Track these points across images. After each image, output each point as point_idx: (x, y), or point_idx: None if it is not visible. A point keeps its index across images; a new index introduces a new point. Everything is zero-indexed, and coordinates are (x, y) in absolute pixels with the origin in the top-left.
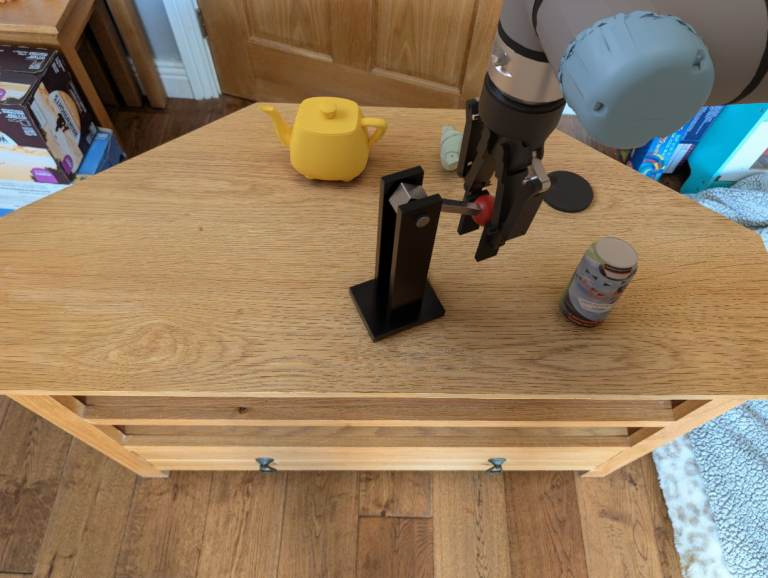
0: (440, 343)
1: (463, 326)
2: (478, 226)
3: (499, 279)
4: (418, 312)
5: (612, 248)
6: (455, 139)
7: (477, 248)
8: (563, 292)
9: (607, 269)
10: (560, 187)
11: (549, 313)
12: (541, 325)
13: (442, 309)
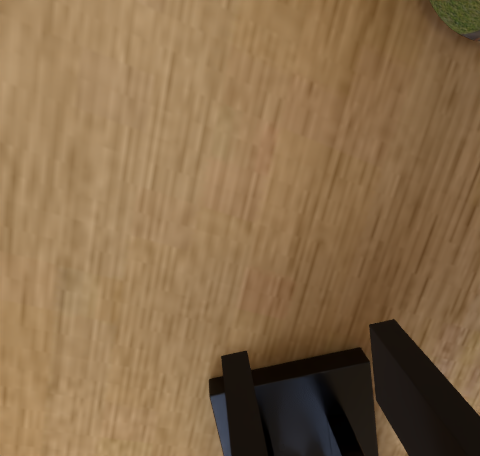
0: None
1: (401, 311)
2: (249, 367)
3: (295, 175)
4: (353, 420)
5: None
6: None
7: (405, 447)
8: (463, 12)
9: None
10: None
11: (449, 66)
12: (473, 109)
13: (364, 369)
